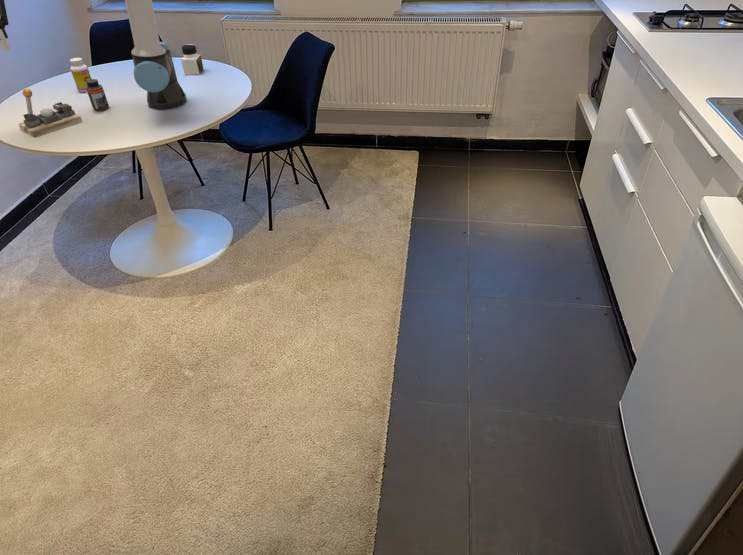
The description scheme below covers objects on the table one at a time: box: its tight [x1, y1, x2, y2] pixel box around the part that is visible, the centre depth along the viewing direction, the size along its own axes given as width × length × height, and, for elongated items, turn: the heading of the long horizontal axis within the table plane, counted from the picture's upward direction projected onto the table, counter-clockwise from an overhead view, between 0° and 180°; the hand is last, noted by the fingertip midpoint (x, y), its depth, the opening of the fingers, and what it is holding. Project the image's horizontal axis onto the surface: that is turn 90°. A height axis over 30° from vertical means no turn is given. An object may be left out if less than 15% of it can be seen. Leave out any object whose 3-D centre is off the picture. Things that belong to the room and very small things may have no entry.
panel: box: [18, 101, 83, 138], centre depth 202 cm, size 12×18×6 cm, turn 140°
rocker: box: [52, 103, 73, 111], centre depth 205 cm, size 4×5×2 cm
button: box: [39, 108, 54, 118], centre depth 202 cm, size 4×4×2 cm
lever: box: [22, 88, 34, 116], centre depth 196 cm, size 3×3×11 cm
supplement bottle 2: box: [86, 78, 110, 112], centre depth 212 cm, size 6×6×11 cm
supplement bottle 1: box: [69, 57, 92, 93], centre depth 230 cm, size 7×7×13 cm
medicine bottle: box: [180, 43, 205, 76], centre depth 244 cm, size 7×7×12 cm
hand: (6, 49), depth 185 cm, fingers closed
